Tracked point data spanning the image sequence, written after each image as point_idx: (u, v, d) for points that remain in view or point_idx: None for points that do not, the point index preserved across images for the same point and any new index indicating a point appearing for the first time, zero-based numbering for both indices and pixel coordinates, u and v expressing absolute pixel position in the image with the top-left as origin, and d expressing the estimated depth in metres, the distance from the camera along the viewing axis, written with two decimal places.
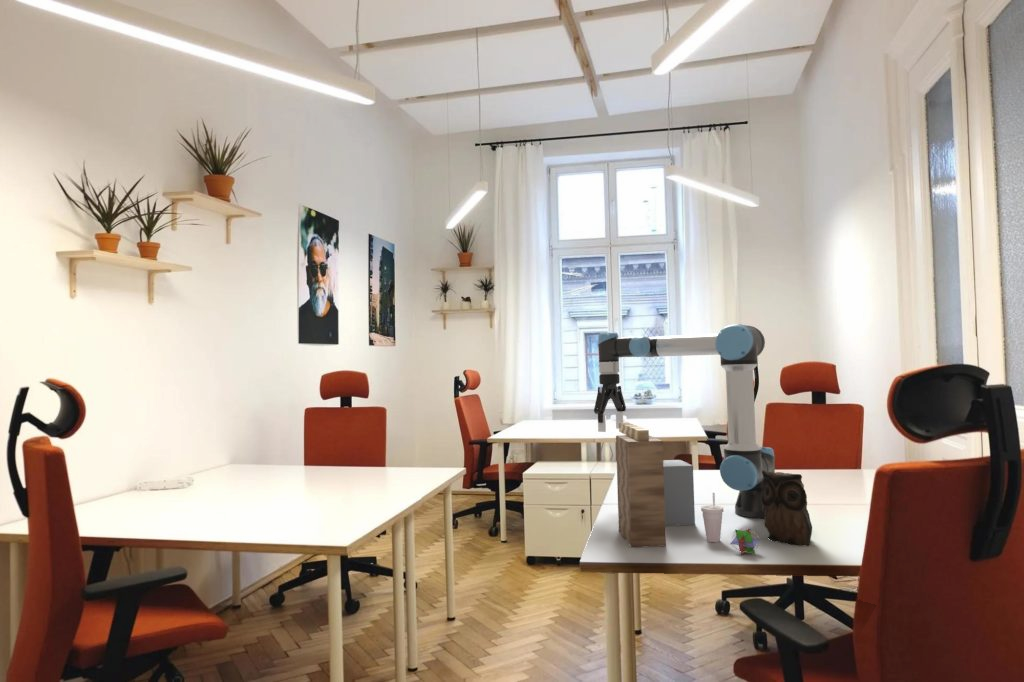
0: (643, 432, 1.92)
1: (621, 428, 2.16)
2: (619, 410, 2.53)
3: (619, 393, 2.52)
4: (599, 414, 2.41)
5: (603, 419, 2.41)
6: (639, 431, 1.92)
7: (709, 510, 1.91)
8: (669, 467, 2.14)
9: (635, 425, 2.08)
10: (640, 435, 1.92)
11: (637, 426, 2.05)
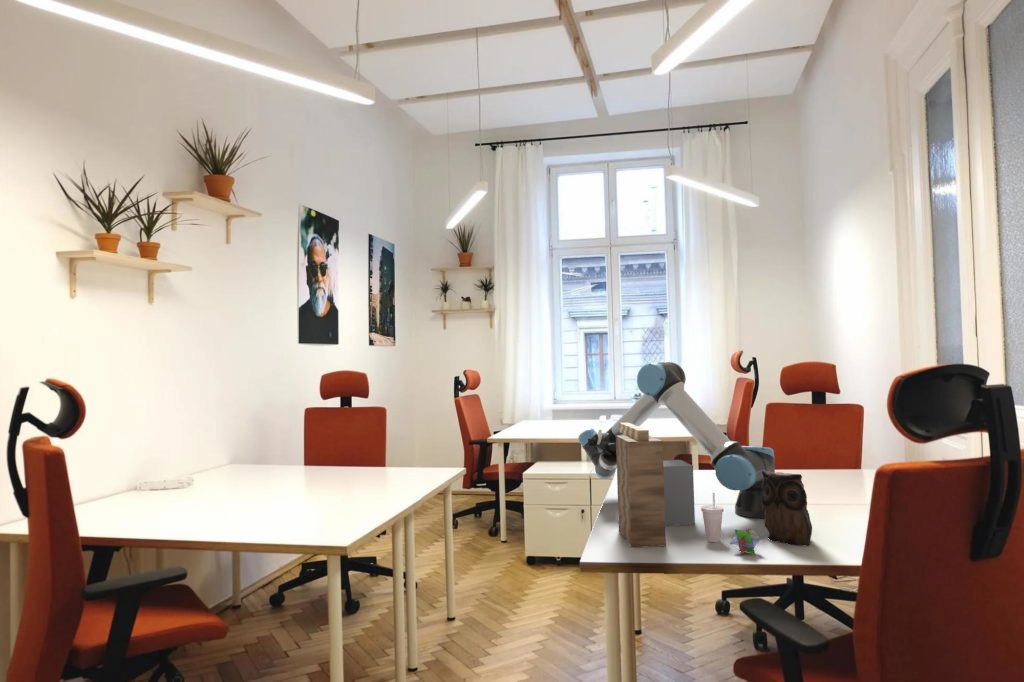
0: (643, 432, 1.92)
1: (621, 428, 2.16)
2: None
3: None
4: (593, 440, 2.32)
5: None
6: (639, 431, 1.92)
7: (709, 510, 1.91)
8: (669, 467, 2.14)
9: (635, 425, 2.08)
10: (640, 435, 1.92)
11: (637, 426, 2.05)
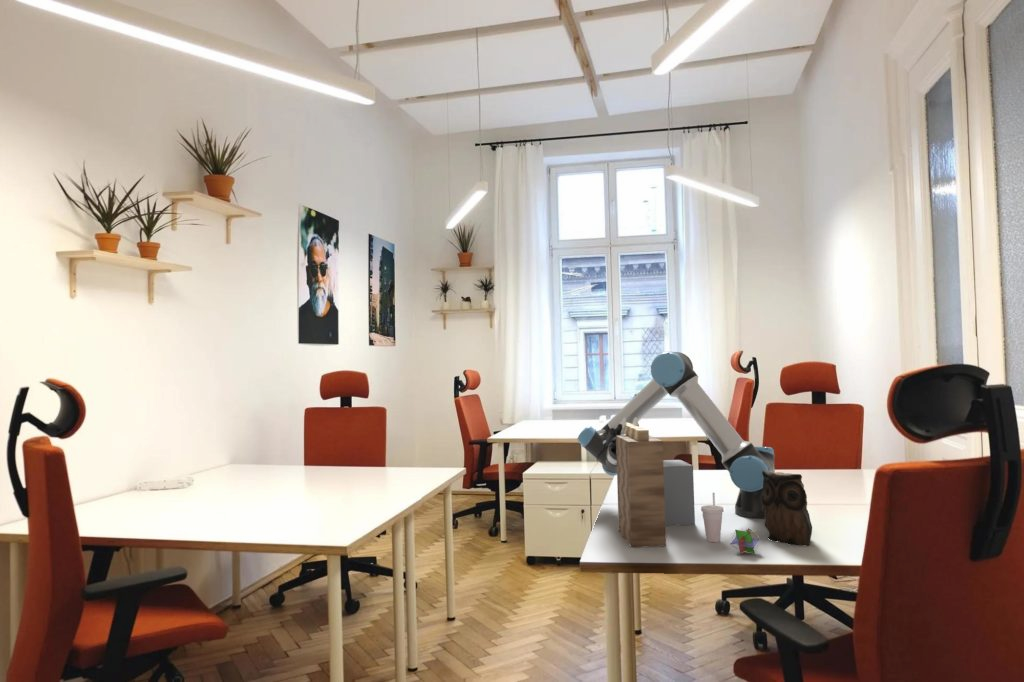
0: (643, 432, 1.92)
1: None
2: None
3: None
4: (616, 429, 2.14)
5: None
6: (639, 431, 1.92)
7: (709, 510, 1.91)
8: (669, 467, 2.14)
9: (635, 425, 2.08)
10: (640, 435, 1.92)
11: (637, 426, 2.05)
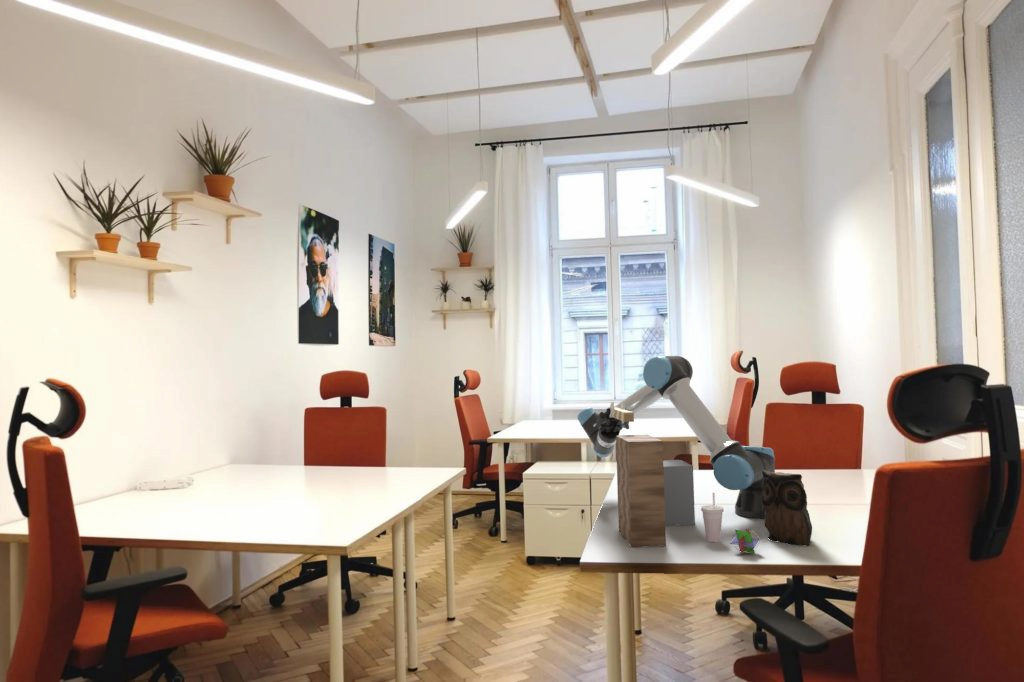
0: (628, 414, 2.11)
1: None
2: None
3: None
4: (605, 413, 2.33)
5: None
6: (625, 413, 2.11)
7: (709, 510, 1.91)
8: (669, 467, 2.14)
9: None
10: (626, 417, 2.11)
11: None
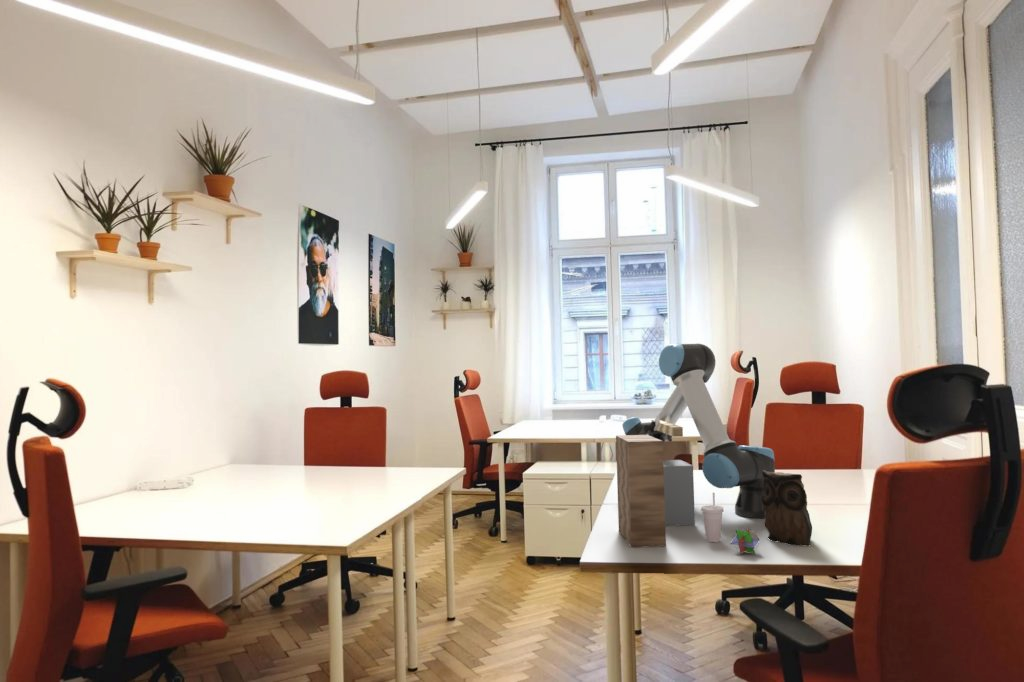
0: (677, 429, 2.12)
1: None
2: None
3: None
4: (650, 426, 2.34)
5: (654, 422, 2.33)
6: (674, 428, 2.12)
7: (709, 510, 1.91)
8: (669, 467, 2.14)
9: None
10: (675, 431, 2.12)
11: (670, 423, 2.25)
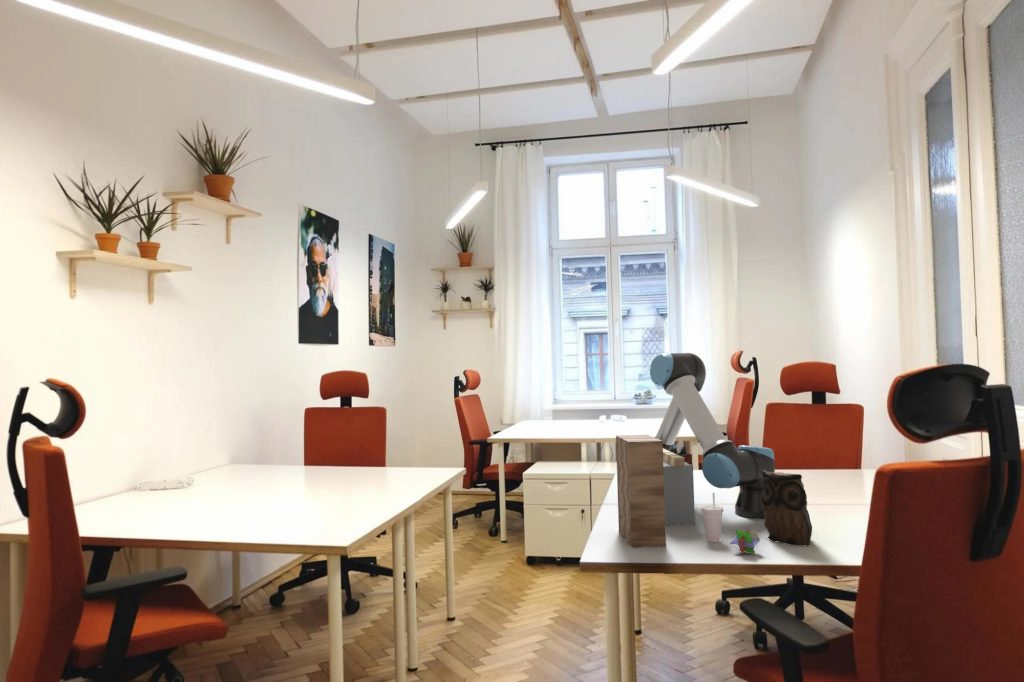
0: (679, 460, 2.12)
1: None
2: None
3: None
4: None
5: None
6: (676, 458, 2.11)
7: (709, 510, 1.91)
8: (669, 467, 2.14)
9: (669, 451, 2.28)
10: (676, 462, 2.11)
11: (672, 452, 2.24)
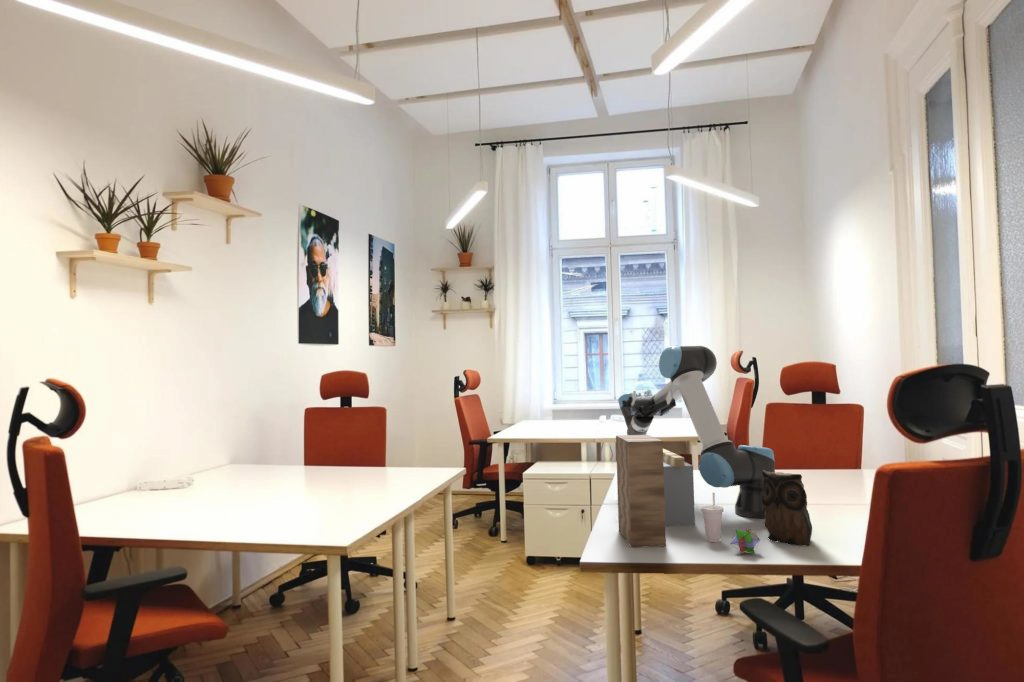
0: (679, 460, 2.12)
1: None
2: None
3: None
4: (627, 401, 2.48)
5: (631, 397, 2.47)
6: (676, 458, 2.11)
7: (709, 510, 1.91)
8: (669, 467, 2.14)
9: (669, 451, 2.28)
10: (676, 462, 2.11)
11: (672, 452, 2.24)
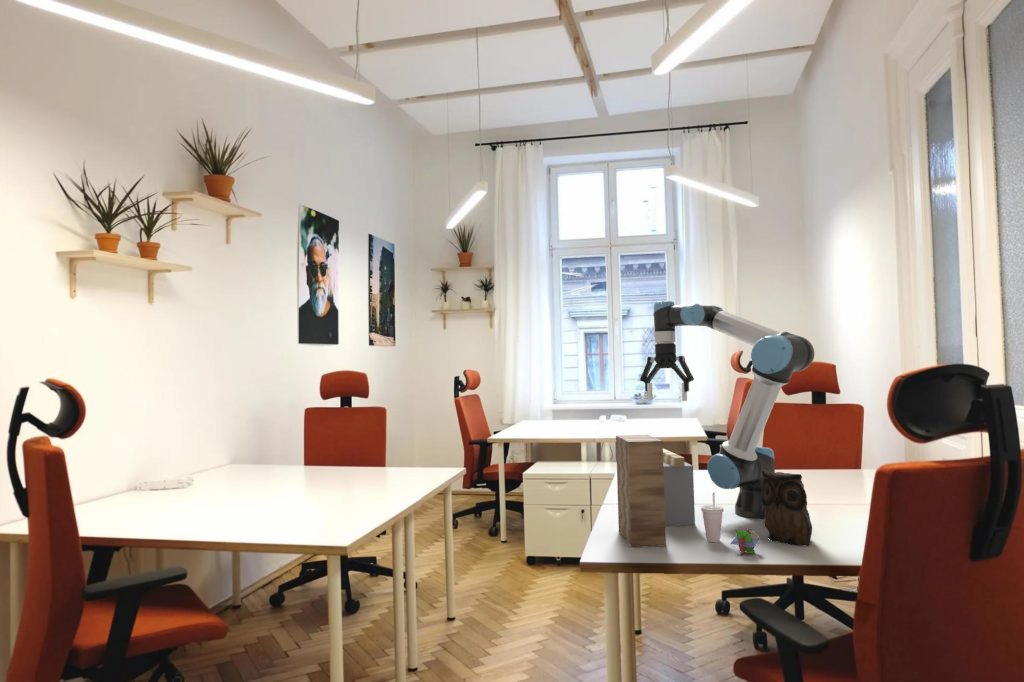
0: (679, 460, 2.12)
1: None
2: None
3: None
4: None
5: (647, 388, 2.47)
6: (676, 458, 2.11)
7: (709, 510, 1.91)
8: (669, 467, 2.14)
9: (669, 451, 2.28)
10: (676, 462, 2.11)
11: (672, 452, 2.24)
